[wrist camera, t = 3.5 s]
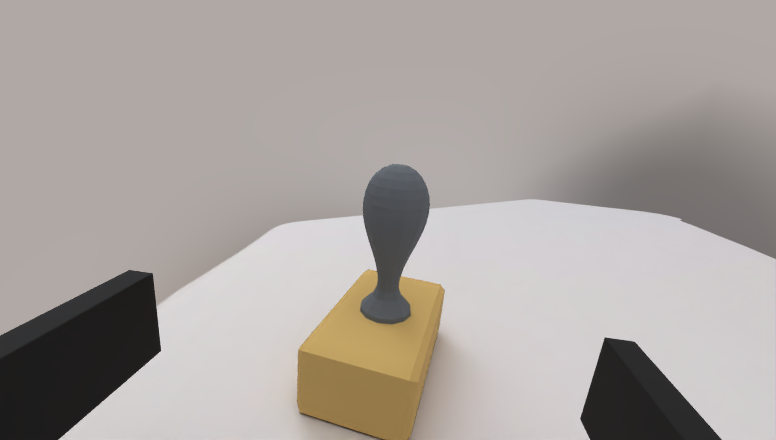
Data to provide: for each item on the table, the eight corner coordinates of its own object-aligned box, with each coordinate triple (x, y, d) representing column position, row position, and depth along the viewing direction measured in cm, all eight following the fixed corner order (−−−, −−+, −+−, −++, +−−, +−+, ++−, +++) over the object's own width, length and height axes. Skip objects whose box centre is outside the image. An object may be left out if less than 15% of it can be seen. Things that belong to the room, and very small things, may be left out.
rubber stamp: (407, 448, 16) (443, 190, 13) (293, 411, 18) (298, 169, 14) (438, 330, 26) (464, 161, 22) (361, 312, 27) (375, 149, 24)
